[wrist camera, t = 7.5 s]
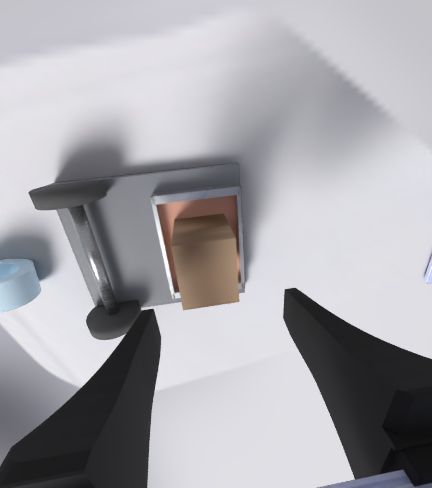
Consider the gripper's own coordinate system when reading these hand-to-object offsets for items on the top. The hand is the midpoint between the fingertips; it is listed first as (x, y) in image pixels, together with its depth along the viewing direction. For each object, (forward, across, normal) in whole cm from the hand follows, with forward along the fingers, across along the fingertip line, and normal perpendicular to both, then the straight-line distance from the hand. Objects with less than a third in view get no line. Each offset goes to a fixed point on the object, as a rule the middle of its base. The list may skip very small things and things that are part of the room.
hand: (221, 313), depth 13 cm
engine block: (+8, 0, 0) cm, 8 cm away
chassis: (+9, +4, -1) cm, 10 cm away
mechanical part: (+10, +18, 0) cm, 21 cm away
